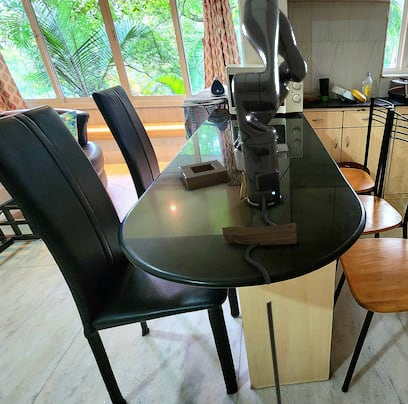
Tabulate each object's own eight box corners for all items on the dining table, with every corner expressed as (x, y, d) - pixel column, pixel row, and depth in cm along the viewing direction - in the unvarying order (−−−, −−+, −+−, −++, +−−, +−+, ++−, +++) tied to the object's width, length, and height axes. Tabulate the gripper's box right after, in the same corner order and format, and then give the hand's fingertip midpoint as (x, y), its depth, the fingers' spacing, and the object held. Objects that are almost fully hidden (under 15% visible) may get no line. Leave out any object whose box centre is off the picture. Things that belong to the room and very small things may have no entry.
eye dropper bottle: (238, 167, 107) (233, 135, 101) (253, 166, 107) (249, 134, 101) (236, 171, 103) (231, 138, 97) (252, 170, 103) (248, 137, 97)
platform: (288, 150, 123) (287, 135, 120) (247, 153, 122) (245, 138, 119) (286, 143, 134) (286, 129, 131) (248, 146, 132) (246, 132, 129)
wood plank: (296, 239, 62) (295, 220, 60) (296, 245, 61) (295, 225, 58) (227, 242, 63) (223, 223, 60) (225, 248, 61) (221, 228, 58)
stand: (229, 181, 94) (227, 170, 93) (188, 190, 89) (186, 178, 87) (218, 170, 105) (217, 159, 103) (182, 177, 99) (179, 166, 97)
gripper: (250, 99, 103) (222, 138, 103) (265, 104, 92) (234, 147, 92) (265, 113, 108) (238, 150, 108) (281, 118, 96) (251, 159, 97)
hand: (237, 148), depth 100 cm, fingers closed on eye dropper bottle, 3 cm apart
